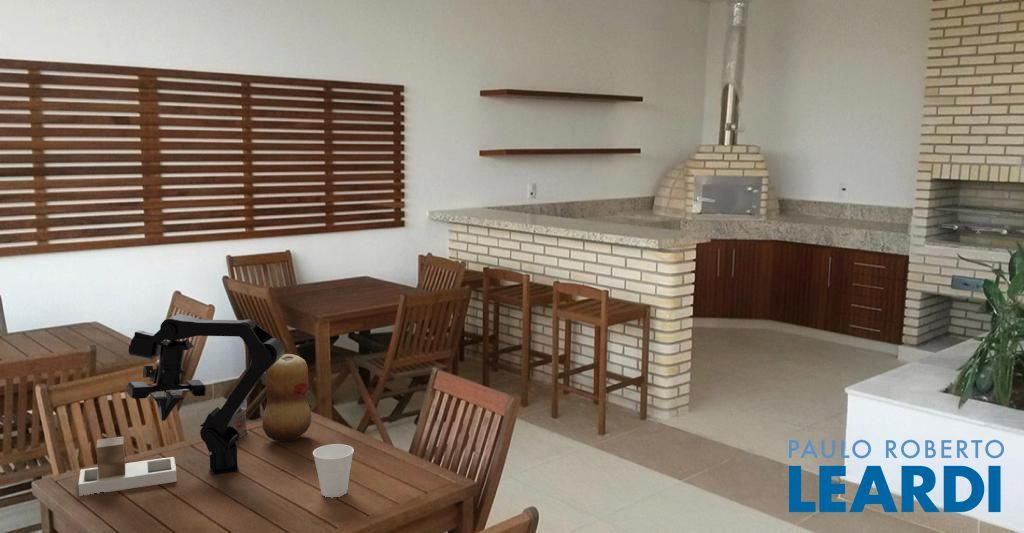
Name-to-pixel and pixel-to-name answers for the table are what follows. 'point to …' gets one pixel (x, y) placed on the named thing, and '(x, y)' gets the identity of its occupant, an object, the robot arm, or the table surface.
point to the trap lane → (129, 476)
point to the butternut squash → (287, 399)
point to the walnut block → (110, 457)
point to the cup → (333, 468)
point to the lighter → (240, 422)
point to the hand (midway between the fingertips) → (162, 420)
